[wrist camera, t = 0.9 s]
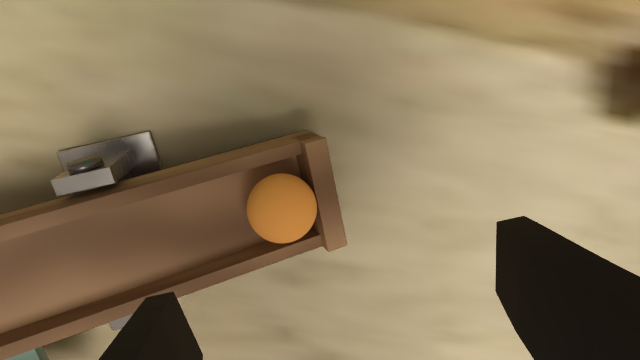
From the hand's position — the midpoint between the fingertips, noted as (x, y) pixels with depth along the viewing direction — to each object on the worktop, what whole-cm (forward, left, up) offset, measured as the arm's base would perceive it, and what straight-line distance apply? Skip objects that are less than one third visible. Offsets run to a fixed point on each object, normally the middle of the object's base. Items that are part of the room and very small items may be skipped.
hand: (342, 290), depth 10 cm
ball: (-2, +1, -11) cm, 11 cm away
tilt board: (-4, +9, -11) cm, 15 cm away
